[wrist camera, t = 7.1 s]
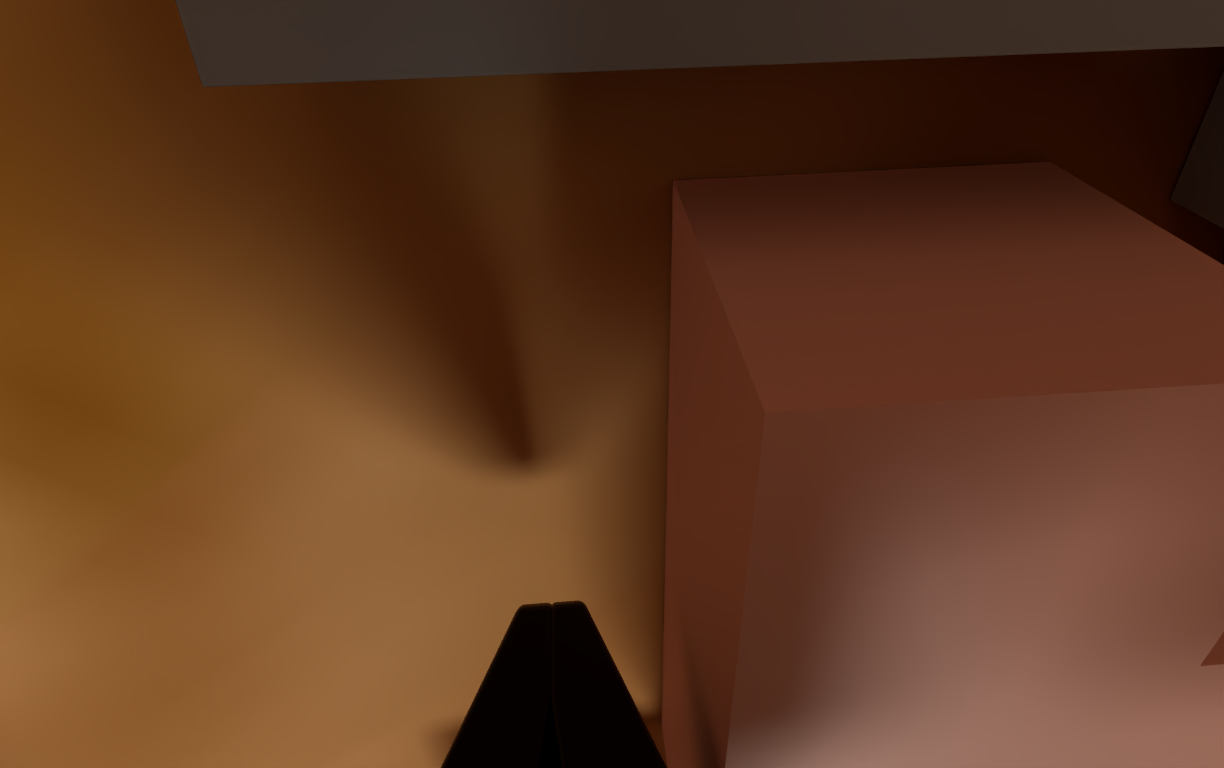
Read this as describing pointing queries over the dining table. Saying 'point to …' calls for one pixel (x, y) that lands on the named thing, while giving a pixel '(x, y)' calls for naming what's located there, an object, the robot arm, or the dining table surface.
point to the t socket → (685, 42)
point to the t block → (941, 476)
